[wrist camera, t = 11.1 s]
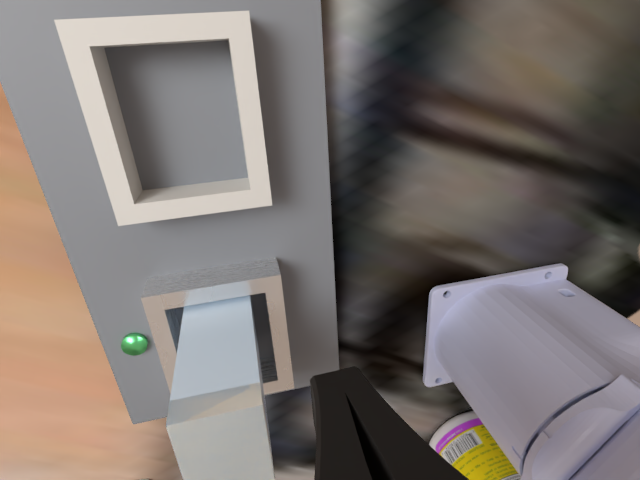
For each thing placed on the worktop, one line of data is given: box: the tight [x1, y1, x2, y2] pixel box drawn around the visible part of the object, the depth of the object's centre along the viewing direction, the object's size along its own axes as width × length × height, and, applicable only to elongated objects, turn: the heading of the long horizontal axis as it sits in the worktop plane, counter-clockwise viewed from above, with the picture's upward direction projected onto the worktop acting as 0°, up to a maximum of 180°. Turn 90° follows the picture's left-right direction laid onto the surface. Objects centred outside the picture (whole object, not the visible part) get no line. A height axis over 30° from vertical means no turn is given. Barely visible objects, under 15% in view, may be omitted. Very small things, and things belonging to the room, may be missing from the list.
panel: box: [0, 0, 339, 424], centre depth 19 cm, size 12×21×1 cm, turn 3°
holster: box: [54, 11, 272, 226], centre depth 15 cm, size 6×7×2 cm
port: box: [121, 257, 294, 395], centre depth 20 cm, size 8×7×2 cm
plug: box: [166, 295, 275, 480], centre depth 17 cm, size 3×4×8 cm
